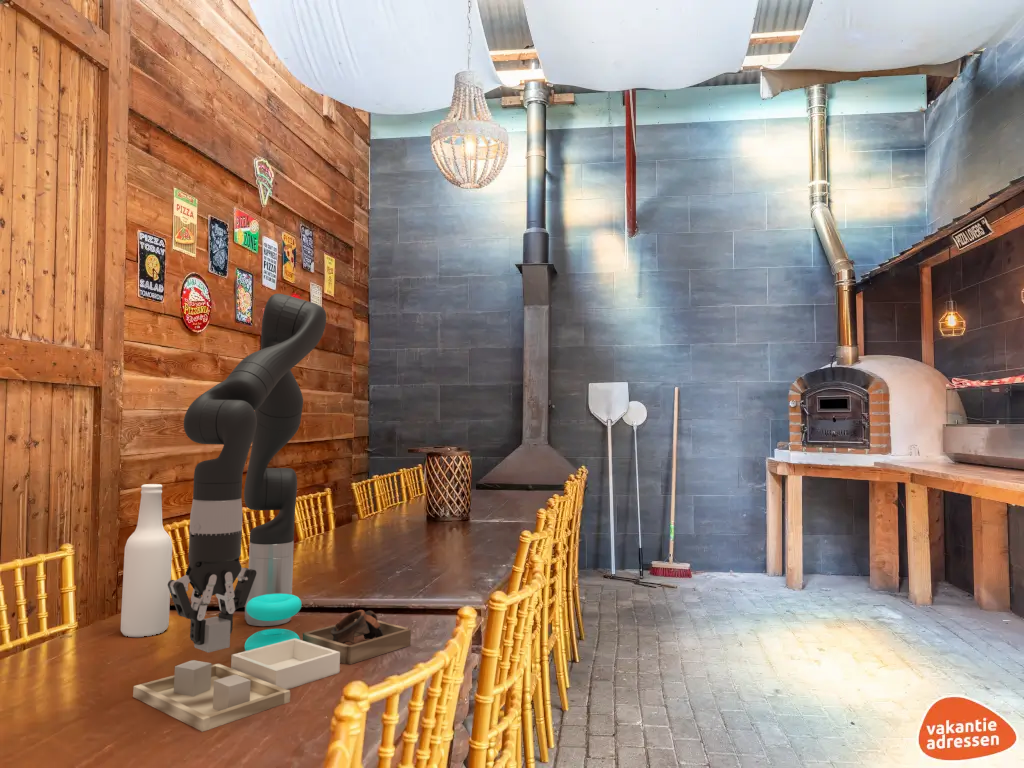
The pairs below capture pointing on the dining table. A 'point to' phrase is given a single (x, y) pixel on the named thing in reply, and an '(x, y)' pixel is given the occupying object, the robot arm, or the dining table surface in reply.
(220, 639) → the grey cube
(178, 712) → the tray
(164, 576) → the alcohol
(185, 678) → the grey stone cube
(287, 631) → the donuts
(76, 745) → the dining table surface
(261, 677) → the dish
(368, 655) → the frame
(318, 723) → the dining table surface
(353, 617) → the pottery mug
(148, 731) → the dining table surface
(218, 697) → the grey cube near
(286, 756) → the dining table surface
